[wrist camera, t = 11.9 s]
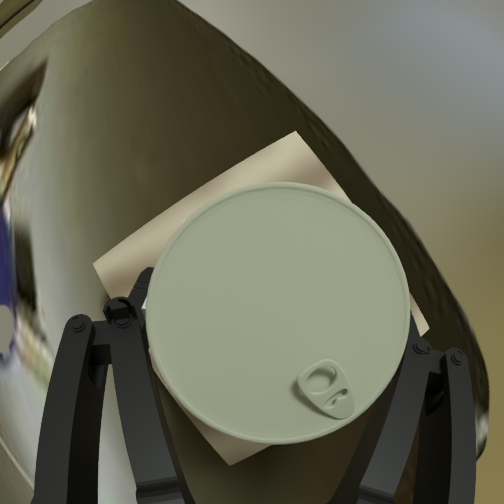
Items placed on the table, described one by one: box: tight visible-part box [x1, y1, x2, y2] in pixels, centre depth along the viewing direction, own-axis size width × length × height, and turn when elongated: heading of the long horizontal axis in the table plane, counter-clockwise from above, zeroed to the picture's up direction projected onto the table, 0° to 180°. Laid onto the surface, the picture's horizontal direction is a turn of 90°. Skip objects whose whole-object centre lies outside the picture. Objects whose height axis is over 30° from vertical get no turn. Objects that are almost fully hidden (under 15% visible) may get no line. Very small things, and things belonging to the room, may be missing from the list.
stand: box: [93, 131, 429, 466], centre depth 26 cm, size 22×22×5 cm
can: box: [146, 182, 410, 445], centre depth 15 cm, size 9×9×12 cm
